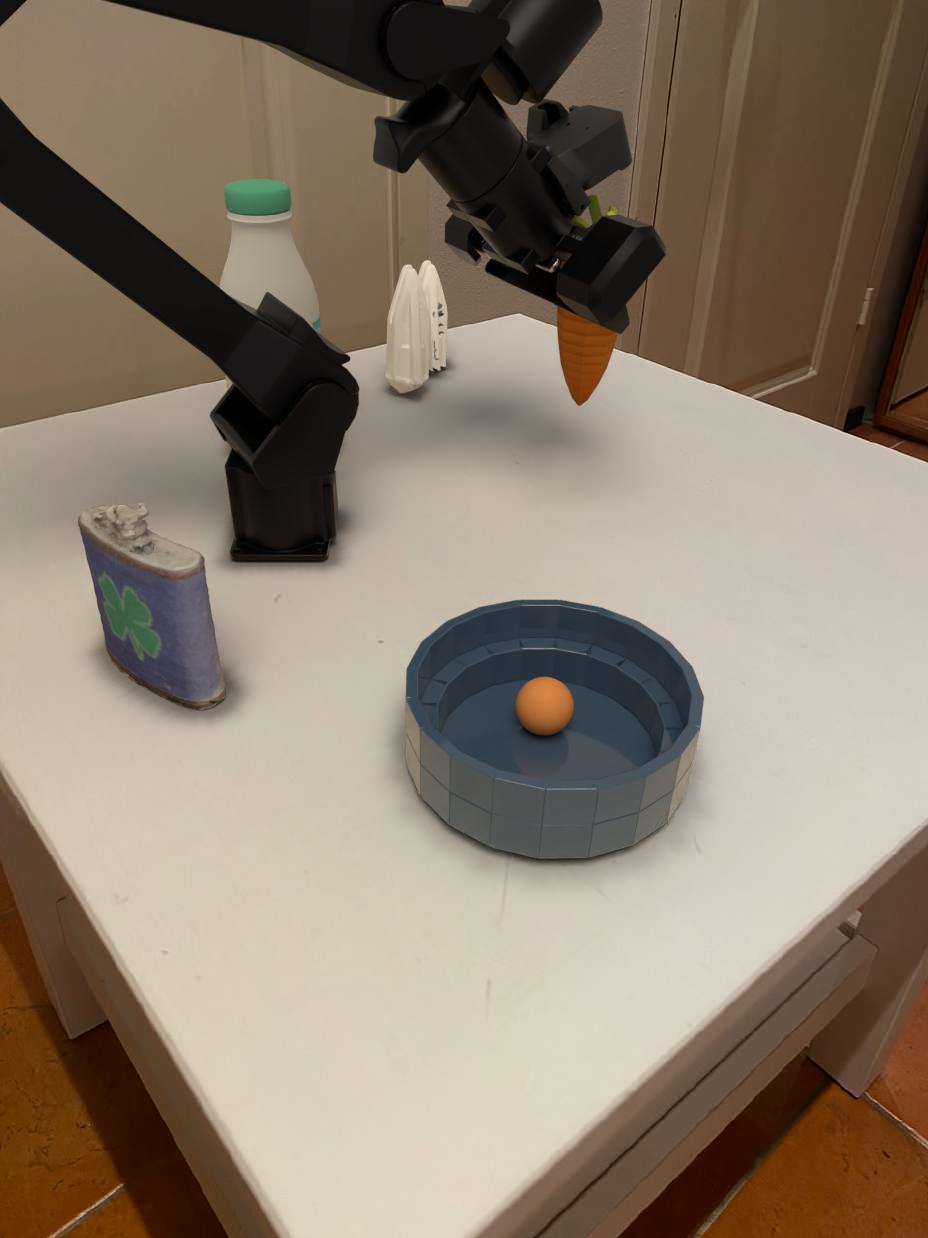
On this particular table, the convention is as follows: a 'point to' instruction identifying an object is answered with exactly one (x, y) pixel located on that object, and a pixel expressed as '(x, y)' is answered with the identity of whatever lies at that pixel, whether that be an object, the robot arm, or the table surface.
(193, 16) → the robot arm
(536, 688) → the ball
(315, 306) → the milk bottle
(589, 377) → the carrot
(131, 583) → the flask
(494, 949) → the table surface
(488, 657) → the bowl
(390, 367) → the shaker set
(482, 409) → the table surface
